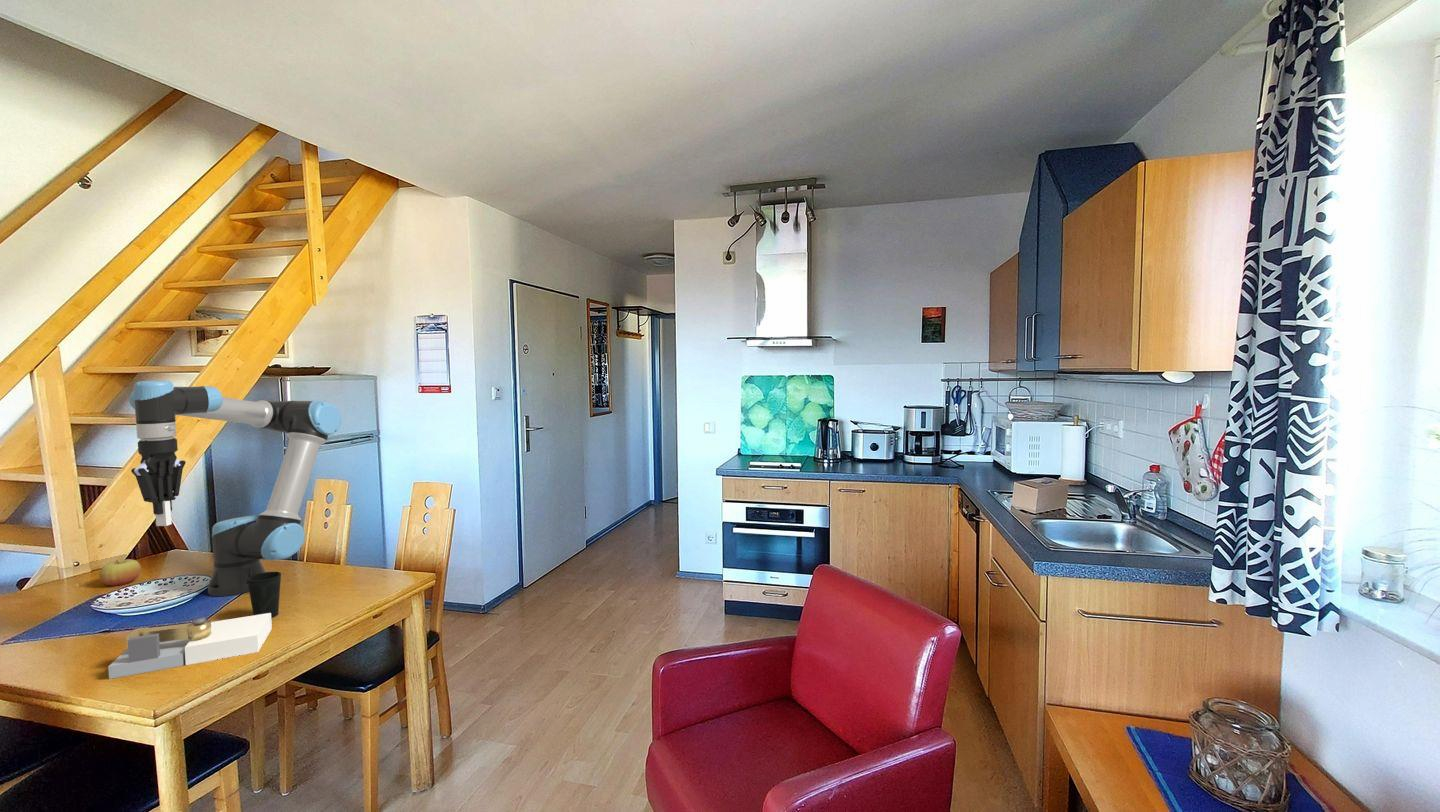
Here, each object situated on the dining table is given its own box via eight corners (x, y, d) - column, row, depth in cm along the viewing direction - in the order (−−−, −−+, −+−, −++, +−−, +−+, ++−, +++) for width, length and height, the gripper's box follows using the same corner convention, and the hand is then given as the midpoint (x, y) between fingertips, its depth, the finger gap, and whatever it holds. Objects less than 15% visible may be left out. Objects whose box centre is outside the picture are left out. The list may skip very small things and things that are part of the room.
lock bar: (206, 637, 142) (205, 626, 142) (126, 648, 137) (125, 636, 137) (214, 630, 146) (214, 619, 146) (137, 640, 141) (136, 628, 141)
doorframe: (137, 650, 146) (135, 616, 145) (271, 628, 158) (270, 596, 158) (109, 679, 132) (106, 641, 132) (258, 652, 145) (256, 617, 144)
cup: (264, 623, 162) (261, 581, 161) (242, 620, 163) (240, 579, 162) (289, 611, 169) (287, 572, 168) (268, 609, 171) (266, 570, 170)
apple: (97, 584, 190) (95, 561, 190) (138, 575, 198) (136, 553, 198) (103, 591, 185) (101, 566, 184) (145, 581, 193) (143, 558, 192)
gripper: (147, 442, 145) (154, 532, 147) (193, 435, 158) (199, 518, 160) (117, 442, 145) (125, 532, 147) (166, 435, 158) (172, 518, 160)
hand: (164, 525), depth 154 cm, fingers closed
